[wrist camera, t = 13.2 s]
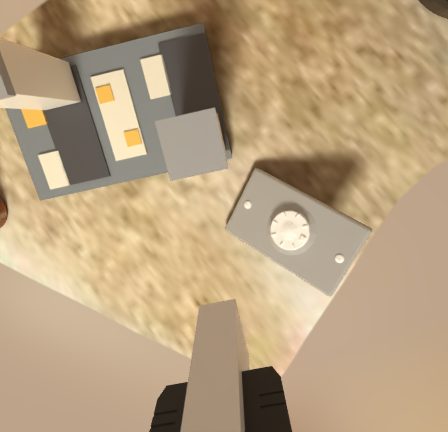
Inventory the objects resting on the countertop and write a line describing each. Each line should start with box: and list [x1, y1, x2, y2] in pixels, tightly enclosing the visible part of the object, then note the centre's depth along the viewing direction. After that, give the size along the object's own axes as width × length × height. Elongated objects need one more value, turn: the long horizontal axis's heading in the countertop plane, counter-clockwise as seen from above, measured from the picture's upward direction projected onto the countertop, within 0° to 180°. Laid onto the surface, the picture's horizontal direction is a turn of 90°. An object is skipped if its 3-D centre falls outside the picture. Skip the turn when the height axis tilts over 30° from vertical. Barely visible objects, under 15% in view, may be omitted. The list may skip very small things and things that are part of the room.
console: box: [6, 23, 232, 200], centre depth 38 cm, size 23×14×2 cm, turn 102°
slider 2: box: [155, 107, 228, 181], centre depth 31 cm, size 4×4×13 cm
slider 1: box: [0, 38, 81, 110], centre depth 30 cm, size 4×4×13 cm
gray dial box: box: [225, 168, 372, 296], centre depth 40 cm, size 8×6×14 cm
